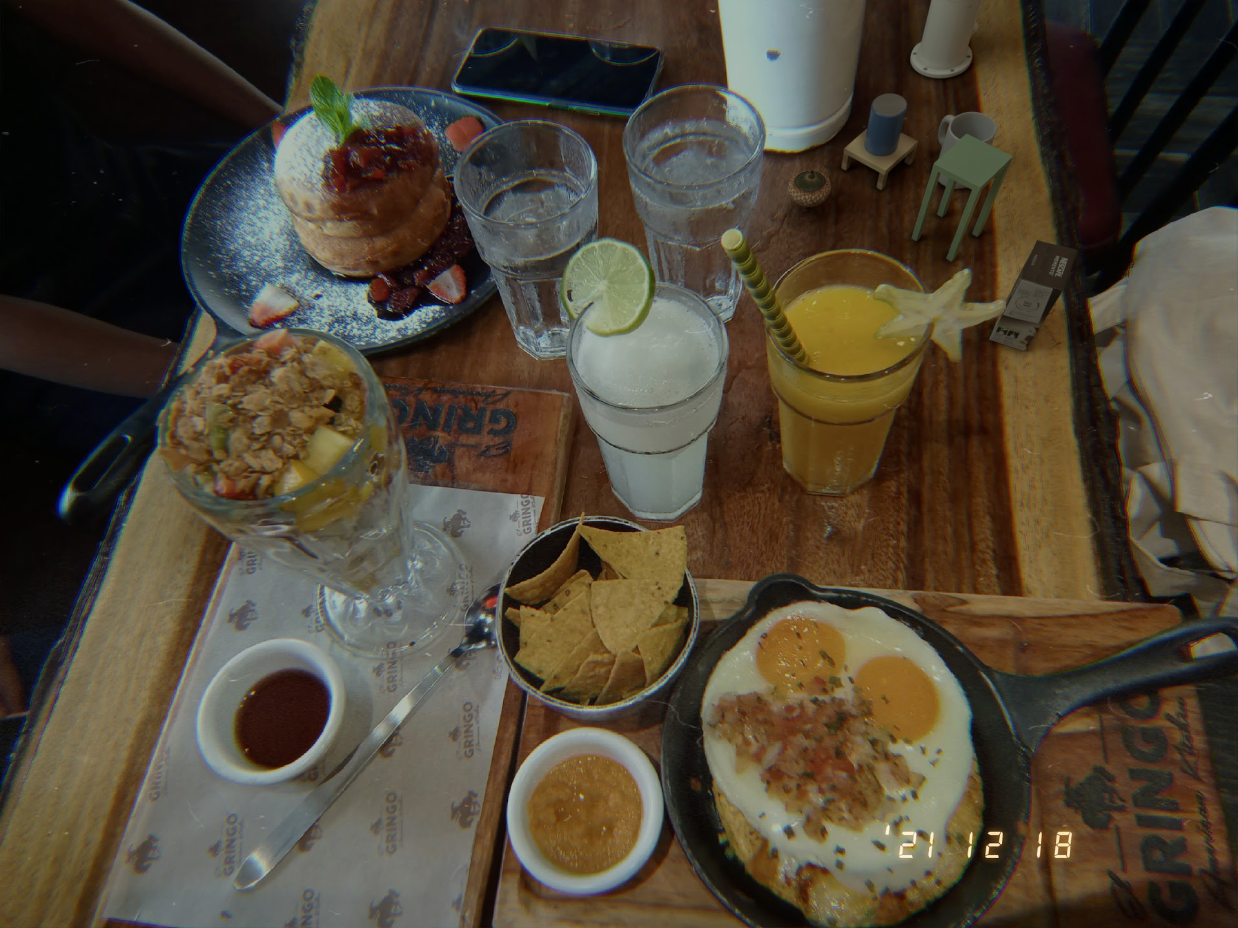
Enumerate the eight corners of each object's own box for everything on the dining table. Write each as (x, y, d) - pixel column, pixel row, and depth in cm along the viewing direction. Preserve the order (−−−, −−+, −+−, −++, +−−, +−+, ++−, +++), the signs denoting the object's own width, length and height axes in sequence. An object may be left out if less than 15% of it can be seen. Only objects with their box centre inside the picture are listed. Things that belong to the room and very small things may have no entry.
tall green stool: (940, 211, 142) (966, 133, 126) (981, 233, 138) (1013, 156, 122) (911, 238, 140) (933, 163, 124) (951, 262, 136) (980, 187, 120)
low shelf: (872, 140, 152) (876, 120, 148) (912, 161, 148) (918, 141, 144) (841, 168, 150) (844, 148, 146) (881, 190, 146) (885, 170, 142)
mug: (989, 178, 144) (1007, 131, 134) (951, 195, 143) (967, 150, 133) (952, 142, 149) (967, 94, 139) (915, 158, 149) (928, 112, 139)
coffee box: (1026, 352, 126) (1063, 292, 112) (987, 340, 128) (1019, 279, 114) (1042, 313, 129) (1080, 249, 114) (1004, 301, 131) (1037, 237, 117)
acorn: (797, 231, 145) (801, 192, 136) (778, 204, 148) (781, 164, 140) (835, 215, 145) (842, 176, 136) (815, 189, 149) (820, 149, 140)
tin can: (877, 129, 147) (886, 88, 139) (904, 142, 144) (914, 102, 136) (857, 147, 145) (864, 107, 137) (883, 161, 143) (892, 121, 135)
